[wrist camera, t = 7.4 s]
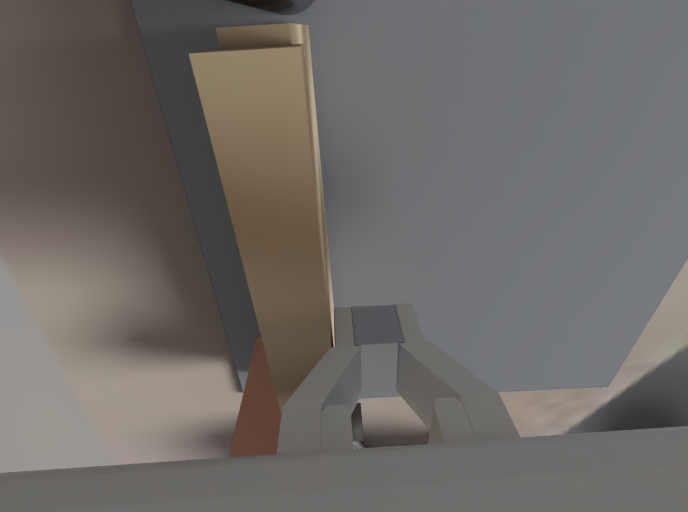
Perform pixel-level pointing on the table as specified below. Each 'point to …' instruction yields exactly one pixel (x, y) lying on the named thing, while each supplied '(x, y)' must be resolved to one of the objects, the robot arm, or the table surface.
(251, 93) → the gate
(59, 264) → the table surface
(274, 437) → the post
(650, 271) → the mat
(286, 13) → the hinge post
